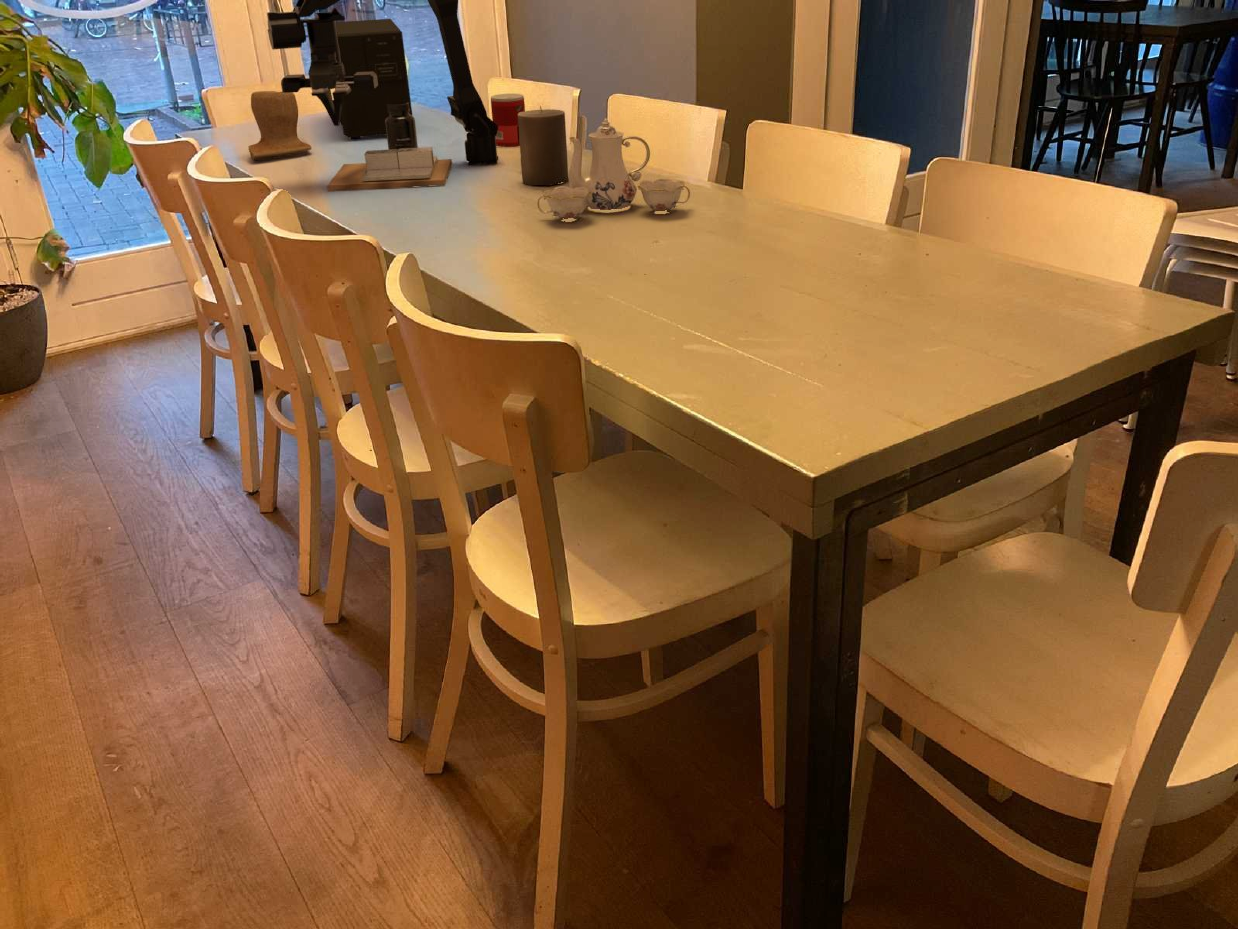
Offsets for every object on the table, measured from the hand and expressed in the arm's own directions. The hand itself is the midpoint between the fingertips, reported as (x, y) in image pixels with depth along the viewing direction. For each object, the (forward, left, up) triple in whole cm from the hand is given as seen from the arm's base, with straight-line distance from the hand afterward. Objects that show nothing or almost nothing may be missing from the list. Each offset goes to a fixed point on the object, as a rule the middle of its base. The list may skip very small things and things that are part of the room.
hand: (336, 125), depth 214 cm
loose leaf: (-12, +3, -10) cm, 16 cm away
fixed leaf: (-12, -4, -10) cm, 16 cm away
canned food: (-35, -31, -12) cm, 48 cm away
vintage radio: (+3, -62, -12) cm, 63 cm away
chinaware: (-55, +37, -12) cm, 67 cm away
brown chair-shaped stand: (+21, -29, -12) cm, 38 cm away
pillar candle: (-43, +10, -12) cm, 46 cm away
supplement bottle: (-10, -21, -12) cm, 26 cm away
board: (-10, 0, -11) cm, 15 cm away
